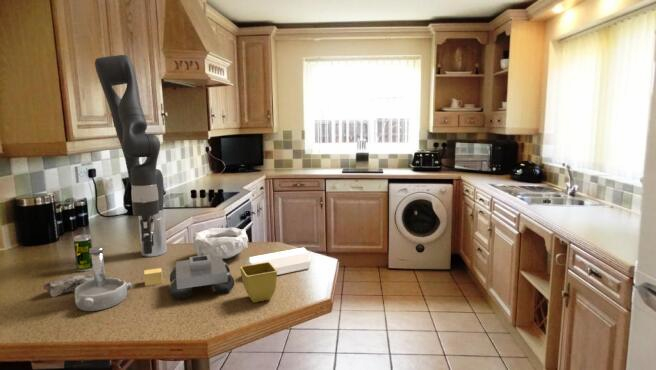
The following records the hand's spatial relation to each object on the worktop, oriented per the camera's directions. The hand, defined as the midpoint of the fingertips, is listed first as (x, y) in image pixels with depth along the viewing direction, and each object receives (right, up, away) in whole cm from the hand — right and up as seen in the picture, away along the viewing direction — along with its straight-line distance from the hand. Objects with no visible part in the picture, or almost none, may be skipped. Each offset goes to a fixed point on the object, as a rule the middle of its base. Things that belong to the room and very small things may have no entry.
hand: (149, 249), depth 129 cm
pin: (-9, -8, -12) cm, 17 cm away
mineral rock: (-22, -12, -2) cm, 25 cm away
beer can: (-29, -10, +15) cm, 34 cm away
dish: (-9, -13, -11) cm, 19 cm away
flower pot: (+37, -12, -11) cm, 40 cm away
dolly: (+18, -11, -3) cm, 21 cm away
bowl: (+16, -7, +26) cm, 31 cm away
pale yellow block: (+1, -11, +2) cm, 11 cm away
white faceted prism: (+39, -9, +10) cm, 42 cm away
